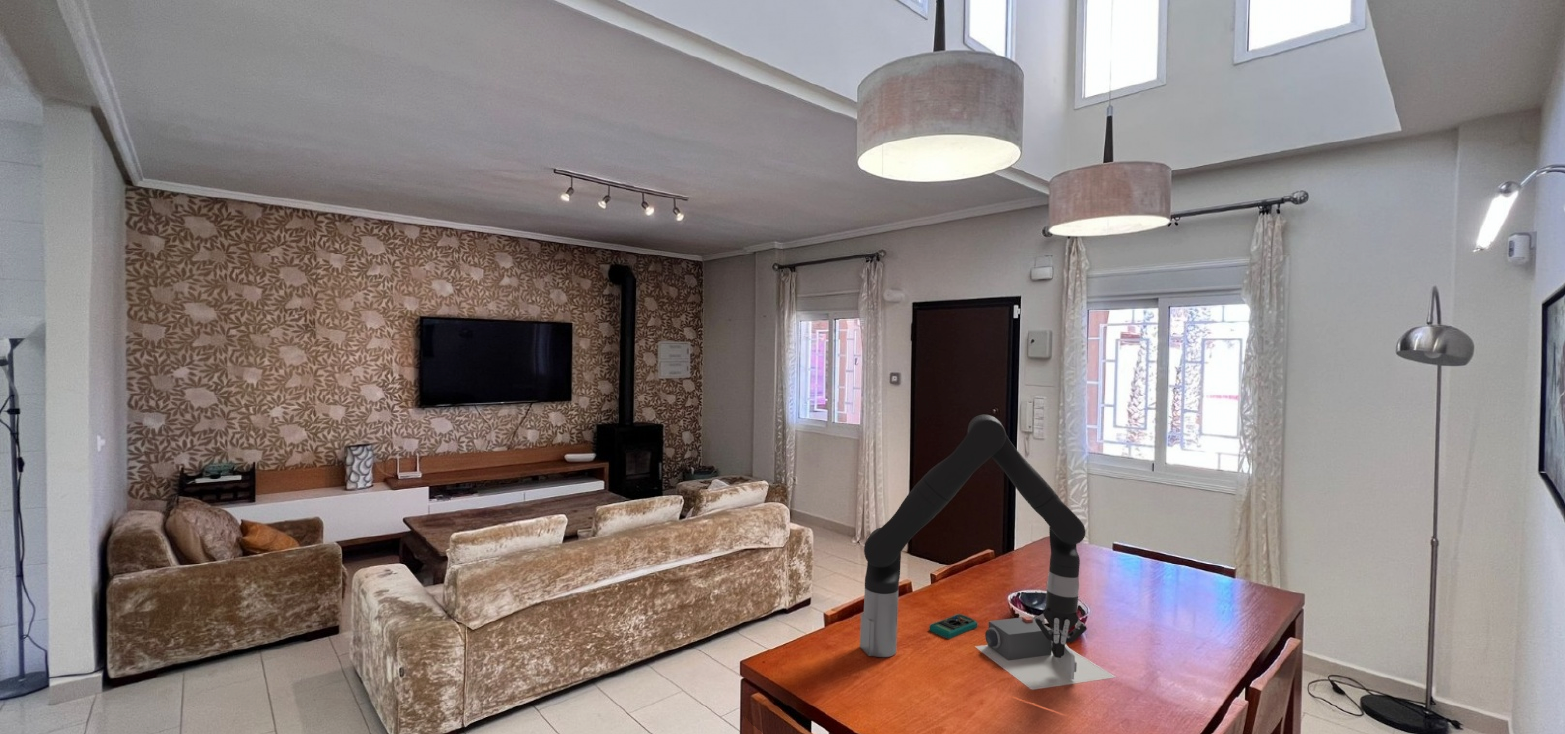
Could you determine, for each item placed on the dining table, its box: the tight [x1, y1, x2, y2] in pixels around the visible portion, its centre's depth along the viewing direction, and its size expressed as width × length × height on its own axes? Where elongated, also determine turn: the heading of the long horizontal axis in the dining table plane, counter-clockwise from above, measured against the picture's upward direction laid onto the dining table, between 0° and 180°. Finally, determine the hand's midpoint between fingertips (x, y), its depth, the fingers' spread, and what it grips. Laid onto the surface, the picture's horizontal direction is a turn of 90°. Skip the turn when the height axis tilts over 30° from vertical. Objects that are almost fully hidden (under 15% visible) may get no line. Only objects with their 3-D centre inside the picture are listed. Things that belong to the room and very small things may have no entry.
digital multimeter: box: [929, 613, 978, 640], centre depth 191 cm, size 7×15×3 cm, turn 129°
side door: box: [1053, 643, 1077, 680], centre depth 168 cm, size 14×2×6 cm, turn 174°
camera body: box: [984, 616, 1052, 660], centre depth 177 cm, size 16×9×8 cm, turn 107°
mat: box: [974, 644, 1116, 691], centre depth 172 cm, size 26×24×1 cm
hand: (1057, 656), depth 165 cm, fingers closed
